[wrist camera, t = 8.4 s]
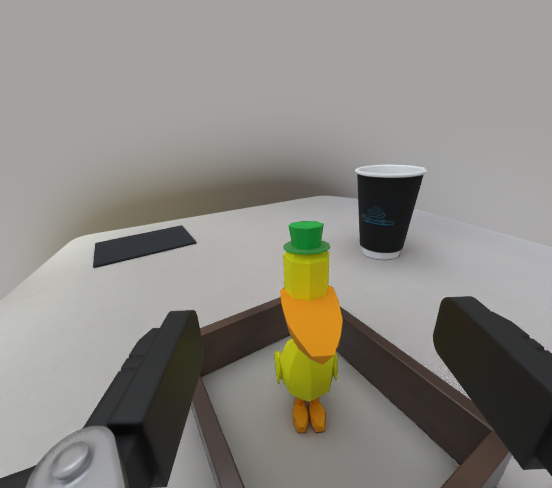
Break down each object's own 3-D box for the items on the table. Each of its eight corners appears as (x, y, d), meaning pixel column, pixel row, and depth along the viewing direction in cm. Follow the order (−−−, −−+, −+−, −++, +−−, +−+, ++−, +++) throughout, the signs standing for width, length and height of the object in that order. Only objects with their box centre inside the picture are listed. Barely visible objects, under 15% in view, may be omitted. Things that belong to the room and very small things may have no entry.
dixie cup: (354, 265, 33) (361, 175, 29) (346, 240, 40) (350, 165, 36) (422, 265, 32) (439, 172, 28) (401, 240, 39) (412, 163, 35)
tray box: (300, 750, 7) (298, 723, 6) (181, 376, 19) (171, 338, 18) (499, 482, 13) (522, 435, 11) (310, 317, 24) (310, 284, 23)
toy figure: (355, 485, 13) (382, 264, 8) (281, 491, 13) (265, 271, 8) (326, 370, 19) (331, 206, 14) (276, 373, 19) (265, 210, 14)
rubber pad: (93, 267, 36) (92, 265, 36) (95, 244, 44) (95, 242, 44) (196, 243, 42) (196, 241, 42) (182, 226, 50) (181, 225, 50)
